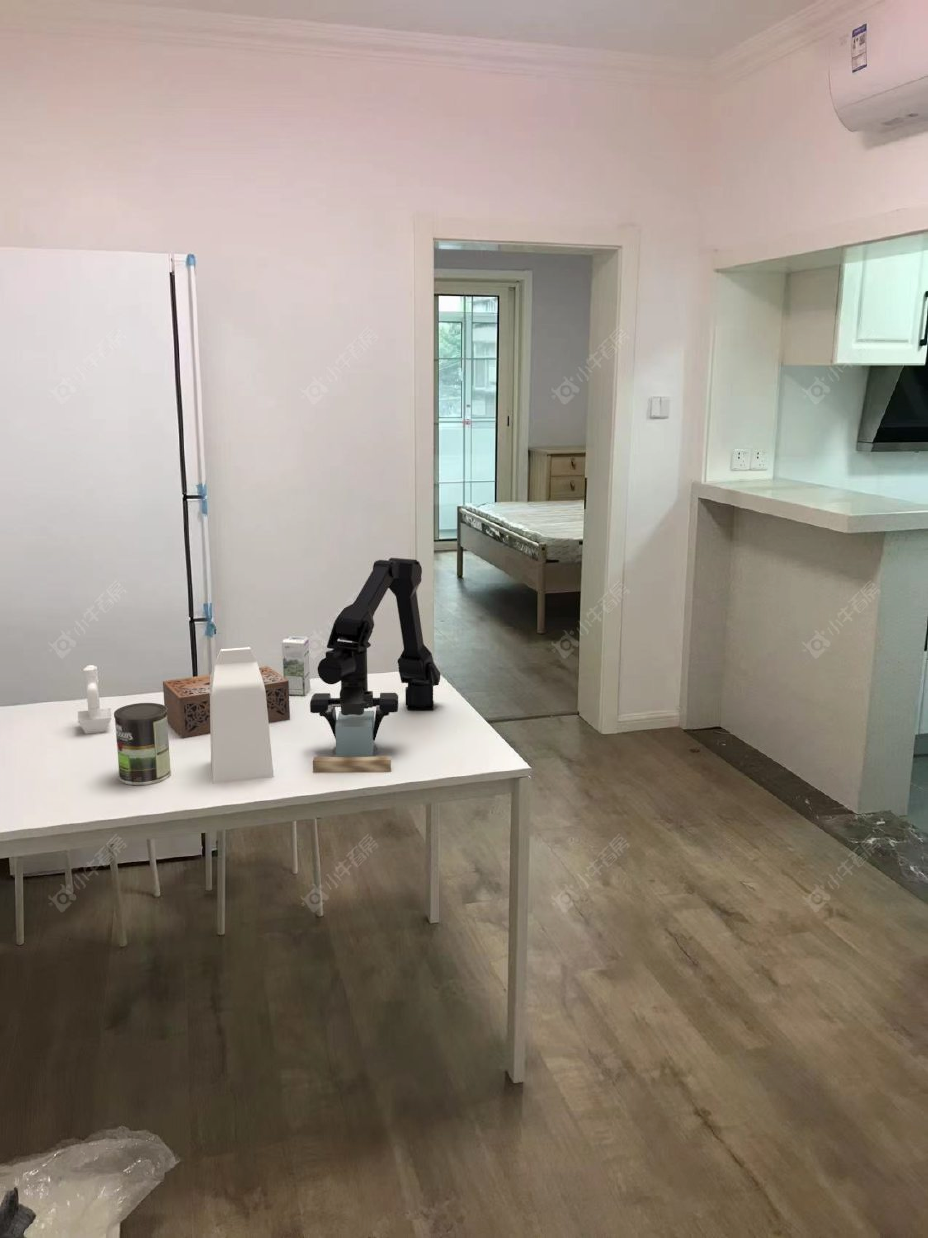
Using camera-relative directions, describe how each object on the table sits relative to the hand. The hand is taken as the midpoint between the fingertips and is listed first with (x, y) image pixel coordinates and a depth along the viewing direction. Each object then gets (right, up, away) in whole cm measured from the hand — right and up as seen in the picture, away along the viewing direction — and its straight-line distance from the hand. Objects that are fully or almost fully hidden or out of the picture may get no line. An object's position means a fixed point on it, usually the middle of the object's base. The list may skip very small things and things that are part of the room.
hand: (355, 740), depth 218 cm
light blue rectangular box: (0, -2, +1) cm, 2 cm away
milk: (-23, -5, -10) cm, 25 cm away
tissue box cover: (-33, +2, +20) cm, 38 cm away
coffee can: (-41, -6, -14) cm, 44 cm away
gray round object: (0, -2, +1) cm, 2 cm away
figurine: (-61, +1, +13) cm, 63 cm away
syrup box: (-19, +7, +41) cm, 46 cm away
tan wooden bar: (0, -5, -10) cm, 11 cm away
